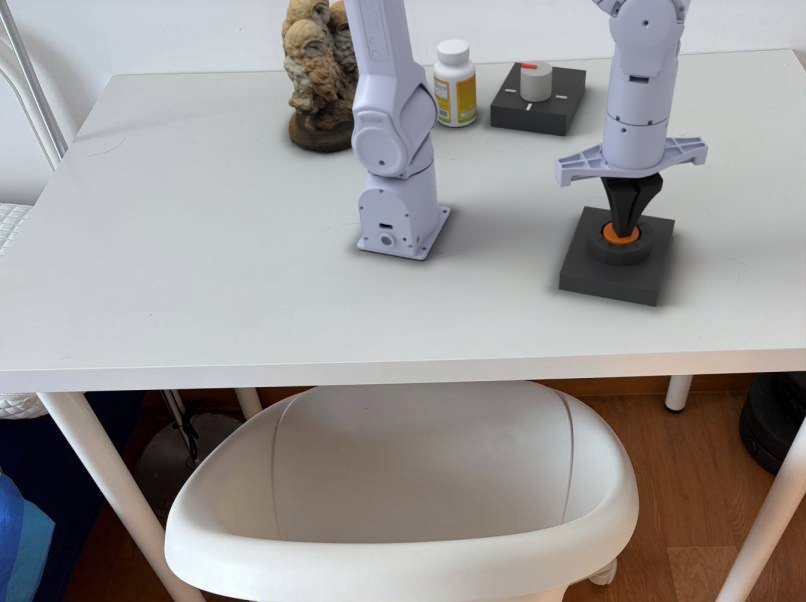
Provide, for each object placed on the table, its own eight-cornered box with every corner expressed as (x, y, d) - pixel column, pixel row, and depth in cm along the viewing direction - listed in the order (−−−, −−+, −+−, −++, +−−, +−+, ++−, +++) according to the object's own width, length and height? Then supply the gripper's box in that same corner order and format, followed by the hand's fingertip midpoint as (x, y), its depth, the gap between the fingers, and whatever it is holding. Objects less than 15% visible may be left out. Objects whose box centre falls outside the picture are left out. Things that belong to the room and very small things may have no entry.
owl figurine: (351, 165, 99) (328, 28, 86) (268, 151, 102) (234, 17, 89) (404, 95, 110) (391, -35, 97) (328, 84, 113) (305, -43, 100)
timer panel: (564, 136, 101) (566, 114, 99) (490, 126, 104) (489, 104, 101) (584, 91, 109) (586, 69, 106) (514, 82, 111) (515, 60, 109)
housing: (655, 307, 80) (661, 277, 77) (558, 289, 82) (560, 259, 79) (672, 236, 87) (678, 205, 84) (583, 221, 89) (585, 191, 86)
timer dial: (554, 88, 103) (555, 60, 101) (546, 103, 101) (548, 75, 98) (525, 84, 104) (525, 57, 102) (516, 99, 102) (517, 71, 99)
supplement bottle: (478, 107, 107) (476, 36, 100) (475, 128, 103) (472, 56, 96) (439, 106, 107) (434, 36, 100) (434, 127, 104) (428, 56, 97)
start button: (633, 258, 81) (635, 244, 80) (599, 252, 82) (600, 238, 81) (639, 237, 83) (641, 223, 82) (605, 231, 84) (607, 218, 83)
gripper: (696, 77, 75) (673, 198, 85) (548, 99, 73) (542, 219, 83) (728, 115, 70) (699, 237, 80) (571, 139, 68) (562, 261, 79)
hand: (621, 231), depth 81 cm, fingers closed, pressing on start button
